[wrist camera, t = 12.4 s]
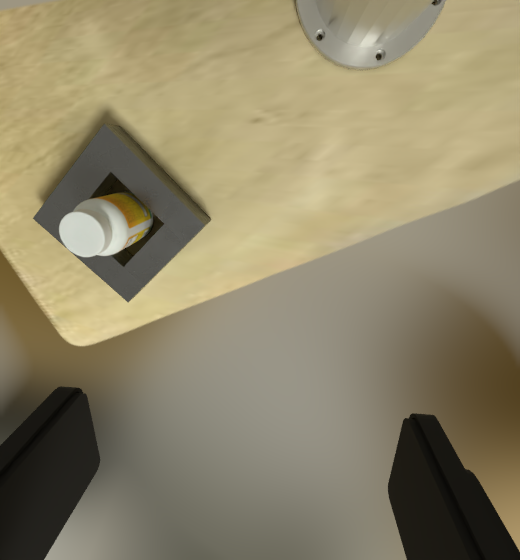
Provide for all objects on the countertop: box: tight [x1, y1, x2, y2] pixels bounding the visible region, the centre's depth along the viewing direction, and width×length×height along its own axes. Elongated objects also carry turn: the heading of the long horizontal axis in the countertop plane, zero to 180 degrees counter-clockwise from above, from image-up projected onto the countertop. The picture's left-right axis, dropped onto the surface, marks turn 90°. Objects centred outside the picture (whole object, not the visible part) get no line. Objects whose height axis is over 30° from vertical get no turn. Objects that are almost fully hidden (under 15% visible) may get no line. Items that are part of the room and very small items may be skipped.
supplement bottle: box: [59, 192, 153, 257], centre depth 32 cm, size 5×5×10 cm
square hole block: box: [33, 124, 211, 302], centre depth 35 cm, size 13×13×3 cm
